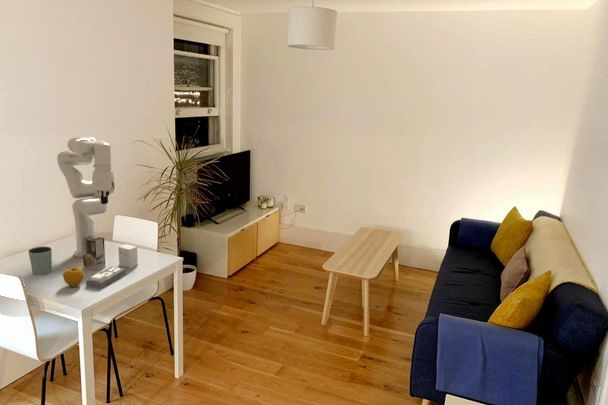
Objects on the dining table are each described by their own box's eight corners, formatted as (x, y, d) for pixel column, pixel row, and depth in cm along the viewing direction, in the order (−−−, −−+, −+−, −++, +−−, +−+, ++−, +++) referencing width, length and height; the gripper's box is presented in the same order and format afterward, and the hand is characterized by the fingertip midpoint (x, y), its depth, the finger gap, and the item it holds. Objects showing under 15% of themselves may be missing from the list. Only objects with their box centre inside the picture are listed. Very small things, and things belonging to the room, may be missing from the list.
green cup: (48, 276, 226) (47, 253, 223) (26, 276, 225) (24, 253, 222) (56, 268, 236) (54, 246, 233) (34, 268, 234) (33, 246, 231)
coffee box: (106, 266, 242) (104, 237, 238) (97, 270, 236) (95, 241, 232) (92, 263, 245) (90, 235, 241) (82, 267, 239) (81, 238, 235)
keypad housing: (111, 271, 236) (111, 266, 235) (125, 274, 234) (125, 268, 233) (86, 286, 218) (86, 280, 217) (101, 288, 216) (101, 282, 215)
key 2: (113, 272, 234) (113, 267, 233) (121, 274, 233) (121, 268, 232) (107, 276, 230) (107, 270, 229) (115, 277, 229) (115, 271, 228)
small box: (138, 265, 247) (137, 246, 244) (130, 268, 242) (129, 249, 239) (126, 262, 250) (126, 243, 247) (118, 265, 245) (118, 246, 242)
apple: (75, 280, 223) (74, 263, 221) (89, 284, 220) (88, 266, 218) (59, 286, 215) (58, 269, 213) (73, 291, 212) (72, 272, 210)
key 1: (97, 279, 222) (97, 273, 222) (105, 280, 221) (105, 274, 221) (91, 282, 218) (90, 276, 217) (99, 284, 217) (99, 278, 216)
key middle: (105, 277, 228) (105, 271, 228) (113, 278, 227) (113, 272, 227) (99, 280, 224) (99, 274, 223) (107, 281, 223) (107, 276, 222)
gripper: (84, 167, 225) (86, 203, 230) (111, 170, 222) (112, 207, 226) (95, 165, 232) (96, 200, 237) (120, 168, 229) (122, 203, 233)
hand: (104, 203), depth 231 cm, fingers closed
